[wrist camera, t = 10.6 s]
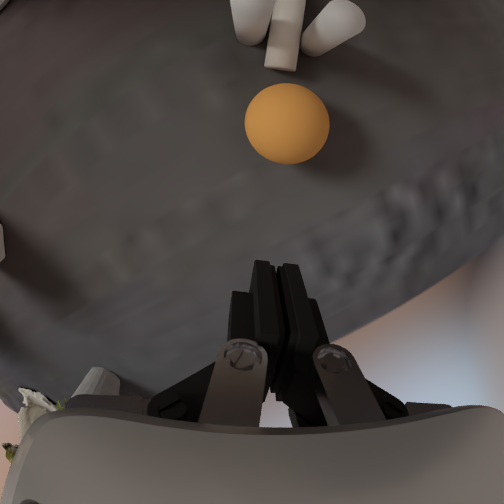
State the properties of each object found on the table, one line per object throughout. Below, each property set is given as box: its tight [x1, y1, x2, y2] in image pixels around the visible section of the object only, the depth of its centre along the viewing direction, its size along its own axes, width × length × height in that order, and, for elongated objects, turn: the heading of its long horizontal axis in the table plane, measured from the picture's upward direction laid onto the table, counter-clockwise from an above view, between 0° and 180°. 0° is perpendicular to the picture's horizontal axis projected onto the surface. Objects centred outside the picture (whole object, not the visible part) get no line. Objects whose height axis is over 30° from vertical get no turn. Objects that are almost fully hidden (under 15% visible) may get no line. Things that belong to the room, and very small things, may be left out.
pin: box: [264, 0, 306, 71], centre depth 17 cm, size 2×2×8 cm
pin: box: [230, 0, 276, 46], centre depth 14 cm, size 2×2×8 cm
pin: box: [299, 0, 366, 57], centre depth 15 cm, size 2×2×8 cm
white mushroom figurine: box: [2, 386, 58, 463], centre depth 37 cm, size 12×13×18 cm
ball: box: [245, 83, 330, 164], centre depth 19 cm, size 6×6×6 cm
